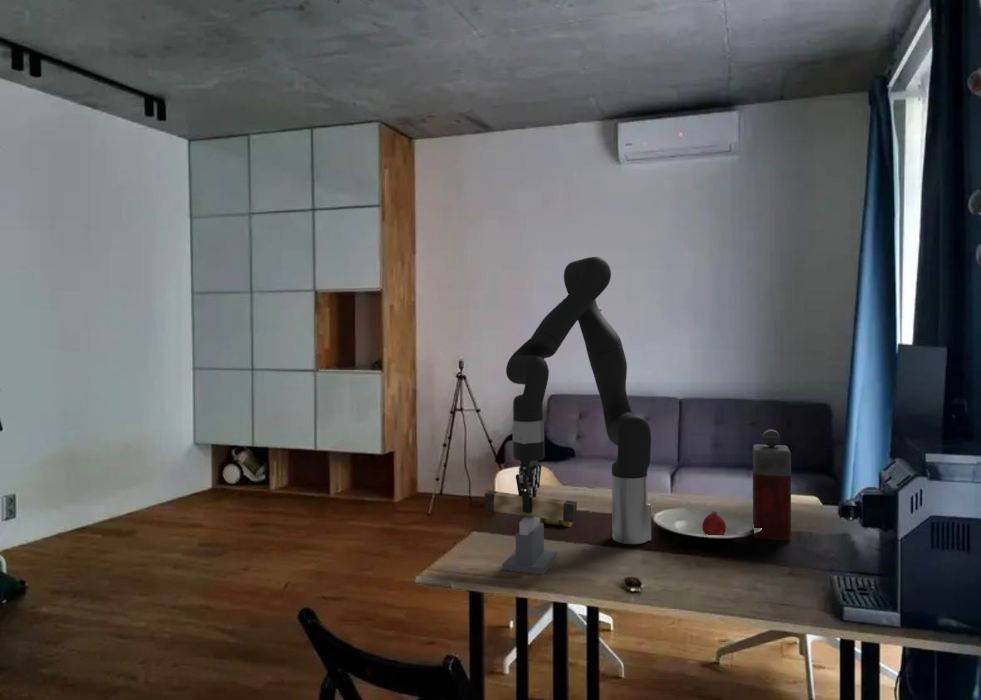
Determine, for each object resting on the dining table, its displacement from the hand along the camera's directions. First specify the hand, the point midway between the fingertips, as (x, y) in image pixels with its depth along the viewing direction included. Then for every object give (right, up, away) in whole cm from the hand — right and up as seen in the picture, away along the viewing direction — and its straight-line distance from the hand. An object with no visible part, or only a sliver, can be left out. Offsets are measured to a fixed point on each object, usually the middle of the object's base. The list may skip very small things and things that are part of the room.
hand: (529, 510), depth 164 cm
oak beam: (0, -1, 0) cm, 1 cm away
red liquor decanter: (+66, -11, +20) cm, 70 cm away
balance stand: (0, -13, +1) cm, 13 cm away
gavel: (+12, -12, +40) cm, 43 cm away
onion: (+49, -12, +15) cm, 52 cm away
